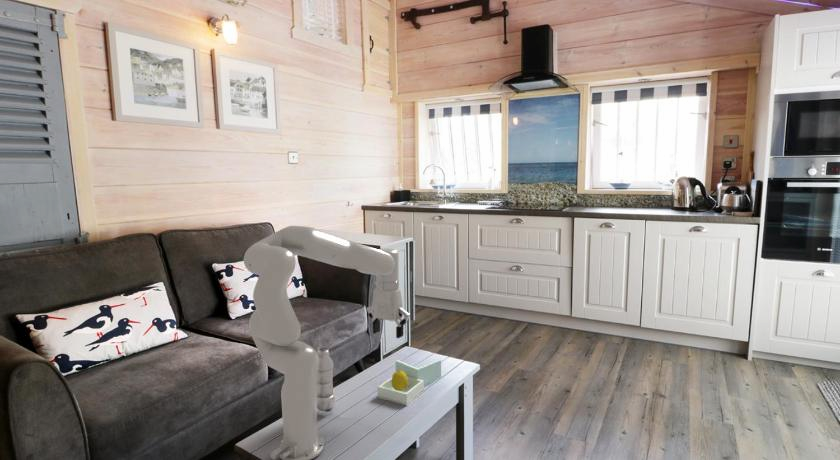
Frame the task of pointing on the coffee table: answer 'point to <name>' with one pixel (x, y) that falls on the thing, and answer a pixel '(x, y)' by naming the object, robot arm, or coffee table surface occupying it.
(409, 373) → the l-shaped corner panel
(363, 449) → the coffee table surface
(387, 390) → the bin
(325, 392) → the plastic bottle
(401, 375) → the lemon
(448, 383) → the coffee table surface
